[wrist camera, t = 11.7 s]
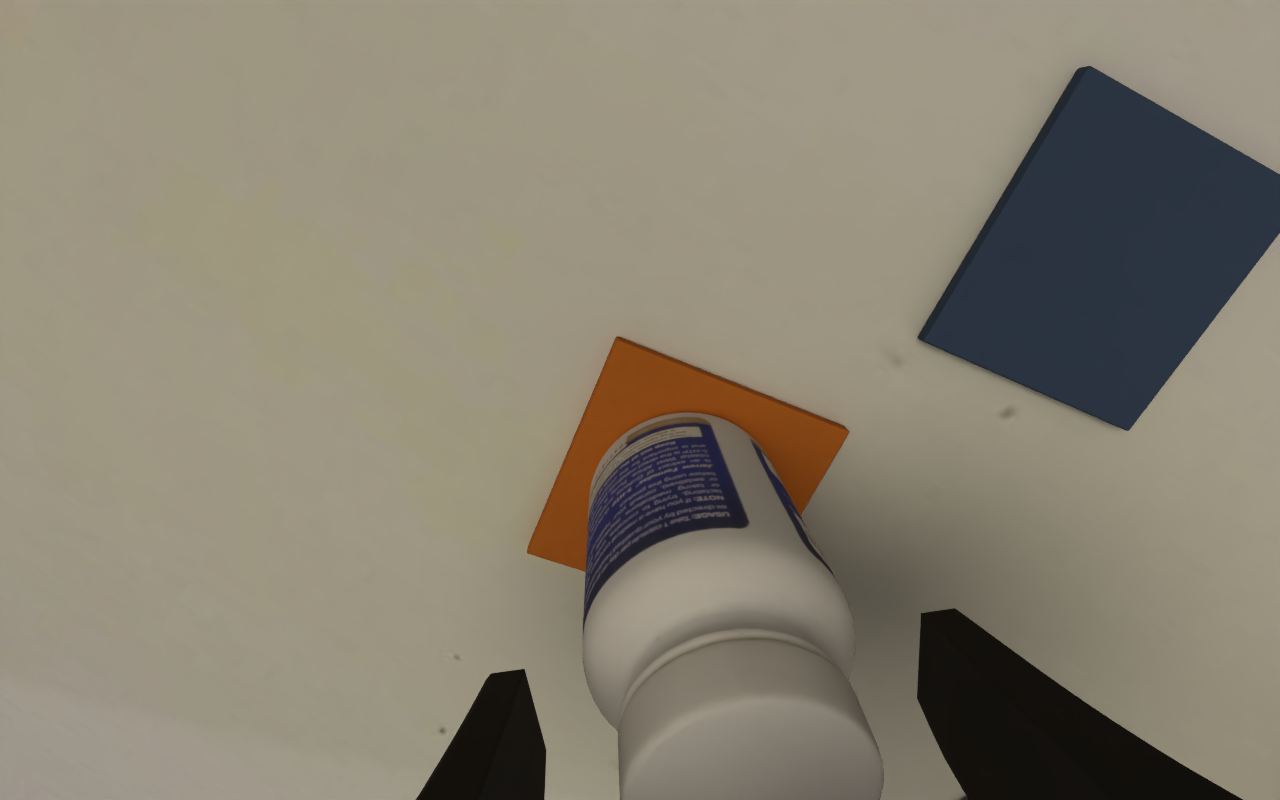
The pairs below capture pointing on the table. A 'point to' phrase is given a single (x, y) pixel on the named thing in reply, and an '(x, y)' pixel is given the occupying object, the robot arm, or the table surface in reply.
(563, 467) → the amber mat
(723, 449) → the pill bottle
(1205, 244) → the blue mat
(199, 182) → the table surface
